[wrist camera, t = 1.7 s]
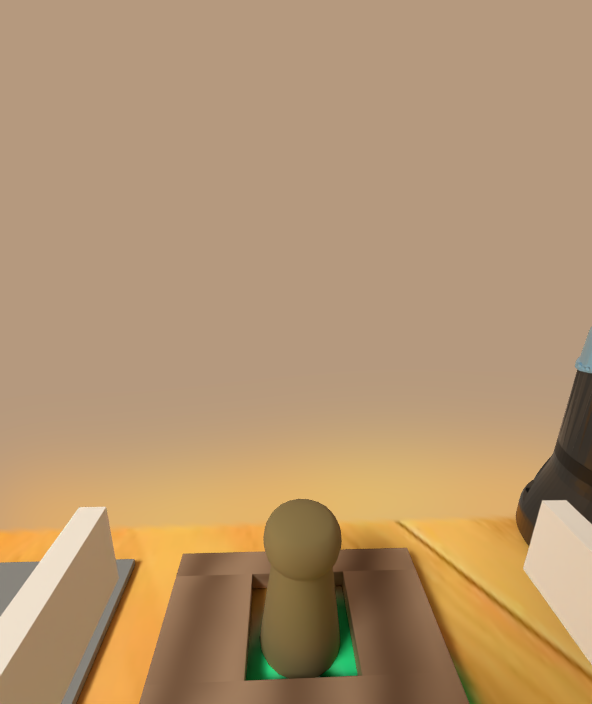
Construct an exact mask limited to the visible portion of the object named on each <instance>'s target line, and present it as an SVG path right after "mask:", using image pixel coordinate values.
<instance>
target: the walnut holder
mask: <svg viewBox="0 0 592 704" xmlns="http://www.w3.org/2000/svg"><path fill="white" fill-rule="evenodd" d="M270 568H271V564H270V562H269V561H268V558H267V555H266V552H233V553H195V554H183V556H182V559H181V562H180V566H179V569H178V573H177V576H176V580H175V583H174V586H173V590H172V593H171V597H170V600H169V604H168V607H167V610H166V614H165V617H164V621H163V624H162V627H161V631H160V634H159V638H158V641H157V645H156V648H155V651H154V655H153V658H152V662H151V665H150V669H149V672H148V675H147V679H146V682H145V686H144V689H143V692H142V696H141V699H140V703H139V704H469V701H468V699H467V696H466V694H465V691H464V689H463V686H462V684H461V681H460V679H459V676H458V674H457V671H456V669H455V666H454V664H453V661H452V659H451V656H450V654H449V651H448V649H447V646H446V644H445V641H444V639H443V636H442V634H441V631H440V629H439V626H438V624H437V621H436V619H435V616H434V614H433V611H432V609H431V606H430V604H429V601H428V599H427V596H426V594H425V591H424V589H423V586H422V584H421V582H420V579H419V577H418V574H417V572H416V569H415V567H414V564H413V562H412V559H411V557H410V554H409V552H408V549H407V548H383V549H345V550H340V553H339V556H338V559H337V561H336V563H335V565H334V566H333V574H334V584H335V586H342V588H343V594H344V600H345V605H346V611H347V617H348V622H349V628H350V634H351V639H352V645H353V651H354V656H355V662H356V668H357V673H358V676H343V677H320V678H297V679H274V680H250V681H246V674H247V660H248V646H249V632H250V618H251V604H252V590H253V588H267V587H268V580H269V574H270Z"/></svg>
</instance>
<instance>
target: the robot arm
mask: <svg viewBox="0 0 592 704" xmlns="http://www.w3.org/2000/svg"><path fill="white" fill-rule="evenodd" d="M575 367H576V368H577V369H578V370H577V373H576V377H575V380H574V384H573V387H572V391H571V394H570V397H569V401H568V404H567V408H566V411H565V415H564V418H563V422H562V425H561V428H560V432H559V435H558V439H557V443H556V446H555V449H554V453H553V454H552V456H551V457H550V458H549V459H548V461H547V462H546V463H545V464H544V465H543V467H542V468H541V469H540V471H539V472H538V473H537V475H536V477H535V478H534V480H532V481H531V482H530V483H528V484H527V486H526V487H525V488H524V489H523V491H522V493H521V496H520V499H519V503H518V507H517V511H516V521H517V525H518V528H519V530H520V533H521V534H522V536H523V538H524V540H525V541H526V543H527V544H528V545H529V549H528V553H527V556H526V560H525V564H524V567H523V569H524V571H525V572H526V574H527V575H528V576H529V578H530V579H531V581H532V582H533V583H534V585H535V586H536V588H537V589H538V590H539V592H540V593H541V595H542V596H543V597H544V599H545V600H546V602H547V603H548V604H549V606H550V607H551V609H552V610H553V611H554V613H555V614H556V616H557V617H558V618H559V620H560V621H561V623H562V624H563V625H564V627H565V628H566V630H567V631H568V632H569V634H570V635H571V637H572V638H573V639H574V641H575V642H576V644H577V645H578V646H579V648H580V649H581V651H582V652H583V653H584V655H585V656H586V658H587V659H588V660H589V662H590V663H591V665H592V327H591V329H590V330H589V333H588V336H587V339H586V342H585V345H584V347H583V350H582V353H581V356H580V357H579V358H578V359H577V360H576V364H575ZM118 579H119V576H118V570H117V565H116V559H115V554H114V548H113V543H112V537H111V532H110V526H109V520H108V515H107V509H106V507H79V508H78V510H77V511H76V512H75V514H74V515H73V517H72V518H71V519H70V521H69V522H68V523H67V525H66V526H65V528H64V529H63V530H62V532H61V533H60V535H59V536H58V537H57V539H56V540H55V542H54V543H53V544H52V546H51V547H50V548H49V550H48V551H47V553H46V554H45V555H44V557H43V558H42V560H41V561H40V562H39V564H38V565H37V566H36V568H35V569H34V571H33V572H32V573H31V575H30V576H29V578H28V579H27V580H26V582H25V583H24V584H23V586H22V587H21V589H20V590H19V591H18V593H17V594H16V596H15V597H14V598H13V600H12V601H11V603H10V604H9V605H8V607H7V608H6V609H5V611H4V612H3V614H2V615H1V616H0V704H61V702H62V700H63V698H64V696H65V694H66V691H67V689H68V687H69V685H70V683H71V681H72V678H73V676H74V674H75V672H76V670H77V668H78V666H79V663H80V661H81V659H82V657H83V655H84V653H85V650H86V648H87V646H88V644H89V642H90V640H91V637H92V635H93V633H94V631H95V629H96V627H97V624H98V622H99V620H100V618H101V616H102V614H103V611H104V609H105V607H106V605H107V603H108V601H109V598H110V596H111V594H112V592H113V590H114V588H115V585H116V583H117V581H118Z"/></svg>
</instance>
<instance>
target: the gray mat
mask: <svg viewBox="0 0 592 704" xmlns="http://www.w3.org/2000/svg"><path fill="white" fill-rule="evenodd" d="M38 564H39V562H10V563H0V616H1V615H2V614H3V612H4V611H5V609H6V608H7V607H8V605H9V604H10V603H11V601H12V600H13V598H14V597H15V596H16V594H17V593H18V591H19V590H20V589H21V587H22V586H23V584H24V583H25V582H26V580H27V579H28V578H29V576H30V575H31V573H32V572H33V571H34V569H35V568H36V566H37V565H38ZM116 565H117V570H118V576H119V579H118V581H117V583H116V585H115V588H114V590H113V592H112V594H111V596H110V598H109V601H108V603H107V605H106V607H105V609H104V611H103V614H102V616H101V618H100V620H99V622H98V624H97V627H96V629H95V631H94V633H93V635H92V637H91V640H90V642H89V644H88V646H87V648H86V650H85V653H84V655H83V657H82V659H81V661H80V663H79V666H78V668H77V670H76V672H75V674H74V676H73V678H72V681H71V683H70V685H69V687H68V689H67V691H66V694H65V696H64V698H63V700H62V702H61V704H76V702H77V700H78V698H79V695H80V693H81V691H82V688H83V686H84V684H85V681H86V679H87V677H88V674H89V672H90V670H91V667H92V665H93V662H94V660H95V658H96V655H97V653H98V651H99V648H100V646H101V644H102V641H103V639H104V637H105V634H106V632H107V630H108V627H109V625H110V622H111V620H112V618H113V615H114V613H115V611H116V608H117V606H118V604H119V601H120V599H121V597H122V594H123V592H124V590H125V587H126V585H127V582H128V580H129V578H130V575H131V573H132V571H133V568H134V566H135V560H134V559H120V560H116Z"/></svg>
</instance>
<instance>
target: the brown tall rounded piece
mask: <svg viewBox="0 0 592 704" xmlns="http://www.w3.org/2000/svg"><path fill="white" fill-rule="evenodd" d="M341 542H342V540H341V530H340V526H339V524H338V522H337V520H336V518H335V516H334V515H333V513H332V512H331V511H330V510H329V509H328V508H327V507H326V506H324V505H322V504H320V503H319V502H316V501H312V500H308V499H296V500H292V501H288V502H286V503H283V504H281V505H280V506H279V507H278V508H277V509H275V510H274V512H273V513H272V514H271V516H270V518H269V519H268V521H267V523H266V526H265V531H264V547H265V552H266V555H267V558H268V561H269V562H270V564H271V568H270V574H269V580H268V587H267V593H266V599H265V606H264V612H263V618H262V624H261V632H260V643H261V649H262V653H263V655H264V657H265V659H266V660H267V662H268V664H269V665H270V666H271V667H272V668H273V669H274V670H275V671H276V672H277V673H278V674H280V675H282V676H284V677H287V678H289V679H297V678H315V677H318V676H320V675H321V674H322V673H324V672H325V671H326V670H328V669H329V668H330V667H331V665H332V663H333V662H334V660H335V659H336V657H337V654H338V650H339V646H340V630H339V621H338V612H337V602H336V593H335V584H334V574H333V566H334V565H335V563H336V561H337V559H338V556H339V553H340V549H341Z"/></svg>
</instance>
